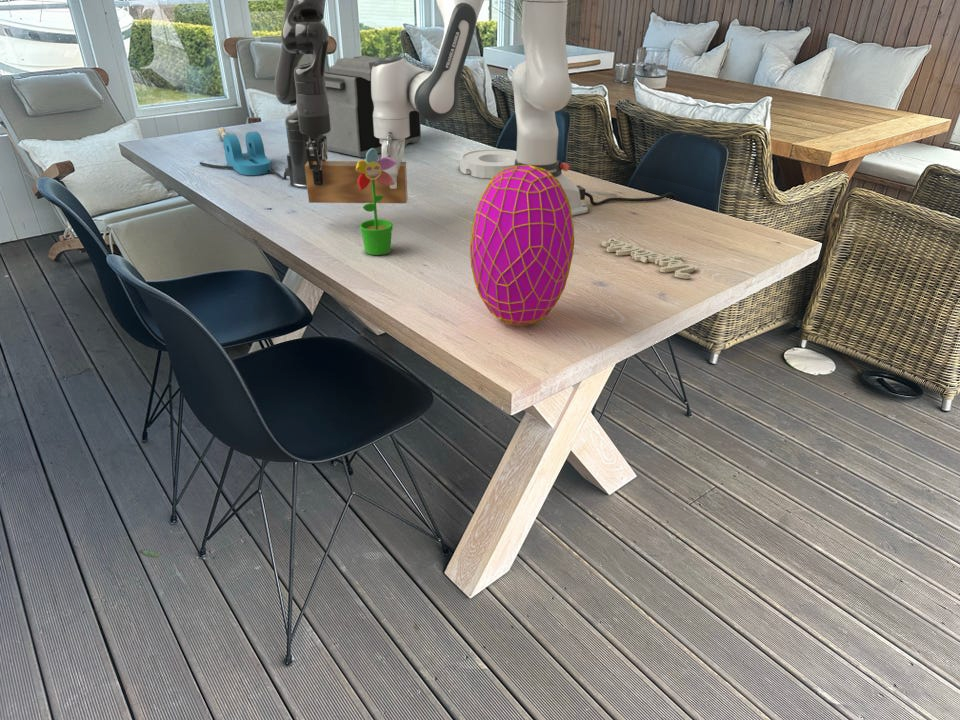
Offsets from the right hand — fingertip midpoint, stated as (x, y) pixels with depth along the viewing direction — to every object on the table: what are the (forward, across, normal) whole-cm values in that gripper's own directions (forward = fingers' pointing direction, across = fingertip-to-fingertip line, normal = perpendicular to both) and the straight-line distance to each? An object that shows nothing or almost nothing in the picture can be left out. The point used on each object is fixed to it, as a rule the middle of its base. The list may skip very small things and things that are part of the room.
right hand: (394, 184), depth 176 cm
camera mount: (+12, +57, +54) cm, 79 cm away
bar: (+4, 0, +10) cm, 10 cm away
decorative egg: (+12, -53, -29) cm, 62 cm away
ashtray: (+12, +58, -28) cm, 65 cm away
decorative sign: (+12, -21, -62) cm, 67 cm away
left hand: (-1, 0, +19) cm, 19 cm away
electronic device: (+12, +89, +18) cm, 92 cm away
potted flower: (+12, -17, +3) cm, 21 cm away
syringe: (+12, +98, +75) cm, 123 cm away
